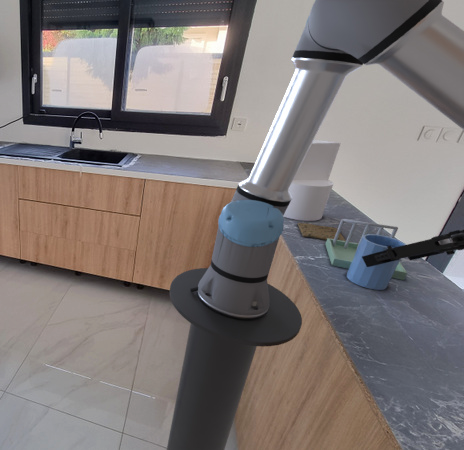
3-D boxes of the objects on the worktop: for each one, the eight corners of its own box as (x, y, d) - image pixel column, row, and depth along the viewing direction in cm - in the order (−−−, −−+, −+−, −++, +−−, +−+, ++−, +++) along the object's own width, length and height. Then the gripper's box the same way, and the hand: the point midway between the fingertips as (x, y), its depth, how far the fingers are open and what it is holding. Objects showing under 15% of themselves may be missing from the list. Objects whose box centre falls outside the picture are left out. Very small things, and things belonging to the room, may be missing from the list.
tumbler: (349, 284, 82) (366, 243, 77) (344, 270, 88) (359, 231, 83) (390, 293, 78) (411, 251, 73) (382, 278, 84) (401, 238, 79)
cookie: (347, 243, 102) (348, 240, 101) (302, 236, 107) (303, 234, 107) (337, 229, 112) (338, 227, 111) (297, 223, 117) (297, 221, 116)
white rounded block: (262, 205, 136) (279, 140, 124) (303, 205, 135) (323, 139, 123) (286, 220, 120) (308, 147, 108) (332, 220, 119) (360, 147, 108)
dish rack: (331, 265, 90) (344, 233, 86) (325, 244, 102) (335, 215, 98) (403, 280, 83) (421, 246, 79) (387, 255, 94) (402, 225, 90)
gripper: (474, 254, 55) (354, 279, 74) (570, 239, 59) (433, 266, 79) (449, 216, 57) (339, 249, 77) (542, 204, 62) (416, 238, 81)
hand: (386, 258), depth 78 cm, fingers open, 13 cm apart
